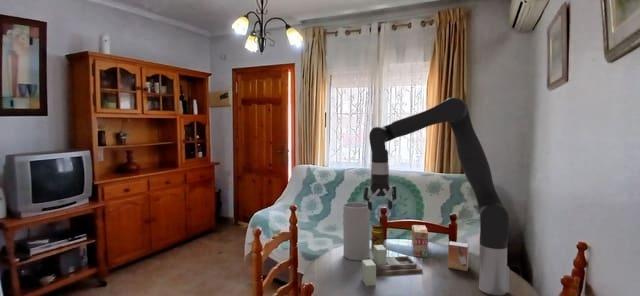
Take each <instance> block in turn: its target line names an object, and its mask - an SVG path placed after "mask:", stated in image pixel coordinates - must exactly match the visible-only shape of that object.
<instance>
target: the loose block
mask: <svg viewBox="0 0 640 296" xmlns="http://www.w3.org/2000/svg"><path fill="white" fill-rule="evenodd" d="M361 280H362V281H363V283H364V285H365V286H366V287H368V286H376V285H377V276H376V265H375V263H374V262H373V261H372V259H370V260H368V259H365V260H361Z"/></svg>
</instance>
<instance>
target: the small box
mask: <svg viewBox="0 0 640 296" xmlns="http://www.w3.org/2000/svg"><path fill="white" fill-rule="evenodd" d="M469 247H470V246H469V243H464V242H457V241H451V240H450V241H449V242H448V247H447V249H448V251H447V254H448V255H447V258H448V259H447V268H448V269H449V268H450V269H455V270H459V271H464V272H465V271H466V272H468V270H469V269H468V268H469Z"/></svg>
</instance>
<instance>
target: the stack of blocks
mask: <svg viewBox="0 0 640 296" xmlns="http://www.w3.org/2000/svg"><path fill="white" fill-rule="evenodd" d="M411 238H412V239H411V243H412V244H411V245H412V249H413V256H414V257H415V258H416V257H418V258H428V257H429V256H428V255H429V254H428V253H429V252H428V247H429V232H428V229H427V227H426V225H425V224H424V225H423V224H422V225H421V224H420V225H419V224H413V225H411Z"/></svg>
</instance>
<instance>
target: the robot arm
mask: <svg viewBox="0 0 640 296" xmlns="http://www.w3.org/2000/svg"><path fill="white" fill-rule="evenodd" d="M442 123H448V124H449V126H450V127H451V130H452V133H453V136H454V140H455V146H456V151H457V152H456V153H457V155H458V160H459V163H460V165H461V168H462V170H463V173H464V175H465V177H466V180H467V181H468V183H469V185H470V187H471V188H472V191H473V192H474V195H475V199H476V202H477V206H478V211H479V212H478V213H479V217H480V218H479V219H480V224H479V225H480V227H479V229H480V230H479V231H480V233H479V257H478V258H479V262H478V263H479V267H478V270H479V271H478V272H479V273H478V288H479V290H480V291H481V292H483V293H485V294H488V295H491V296H505V295H507V294H509V293H510V267H509V266H508V242H509V233H510V232H509V231H510V230H509V226H510V217H509V213H508V211H507V209H506V208H505V206H504V205H503V203H502V201H501V199H500V197H499V195H498V193H497V190H496V188H495V186H494V182H493V177H492V171H491V167H490V165H489V161H488V158H487V155H486V153H485V151H484V148H483V146H482V144H481V142H480V140H479V137H478V136H477V134H476V132H475V129H474V127H473V124H472V120H471V116H470V112H469V107H468V103H466V101H465V100H464V99H461V98H460V97H456V96H455V97H454V96H453V97H449V98H447V99H445V100H444V101H442V102H441V103H438V104H437V105H435V106H433V107H431V108H428V109H426V110H424V111H421V112H418V113H415V114H411V115H408V116H406V117H402V118H400V119H397V120H395V121H392V122H391V123H389V124H386V125H383V126H375V127H372V128H371V130H370V131H369V135H368V137H369V146H370V150H371V166H370V176H371V177H370V179H371V180H370V181H371V182H370V183H371V184H370V186H366V185H364V186H363V201H365V202H367V204H368V209H369V211H372V210H373V200H374V199H375V198H376V197H386V199H387V209H388V210H389V211H390V210H391V209H392V208H393V201H395V200H397V199H398V198H397V197H398V196H397V195H398V194H397V186H396V185H395V184H393V185H390V173H389V172H390V167H389V166H390V165H389V151H388V149H386V143H387V142H390V141H392V140H396V139H397V138H400V137H404V136H407V135H411V134H413V133H416V132H418V131H420V130H423V129H425V128H428V127H430V126H433V125H437V124H442ZM370 191H371V193H370V195H369V192H370ZM389 191H391V195H390V194H389Z"/></svg>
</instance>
